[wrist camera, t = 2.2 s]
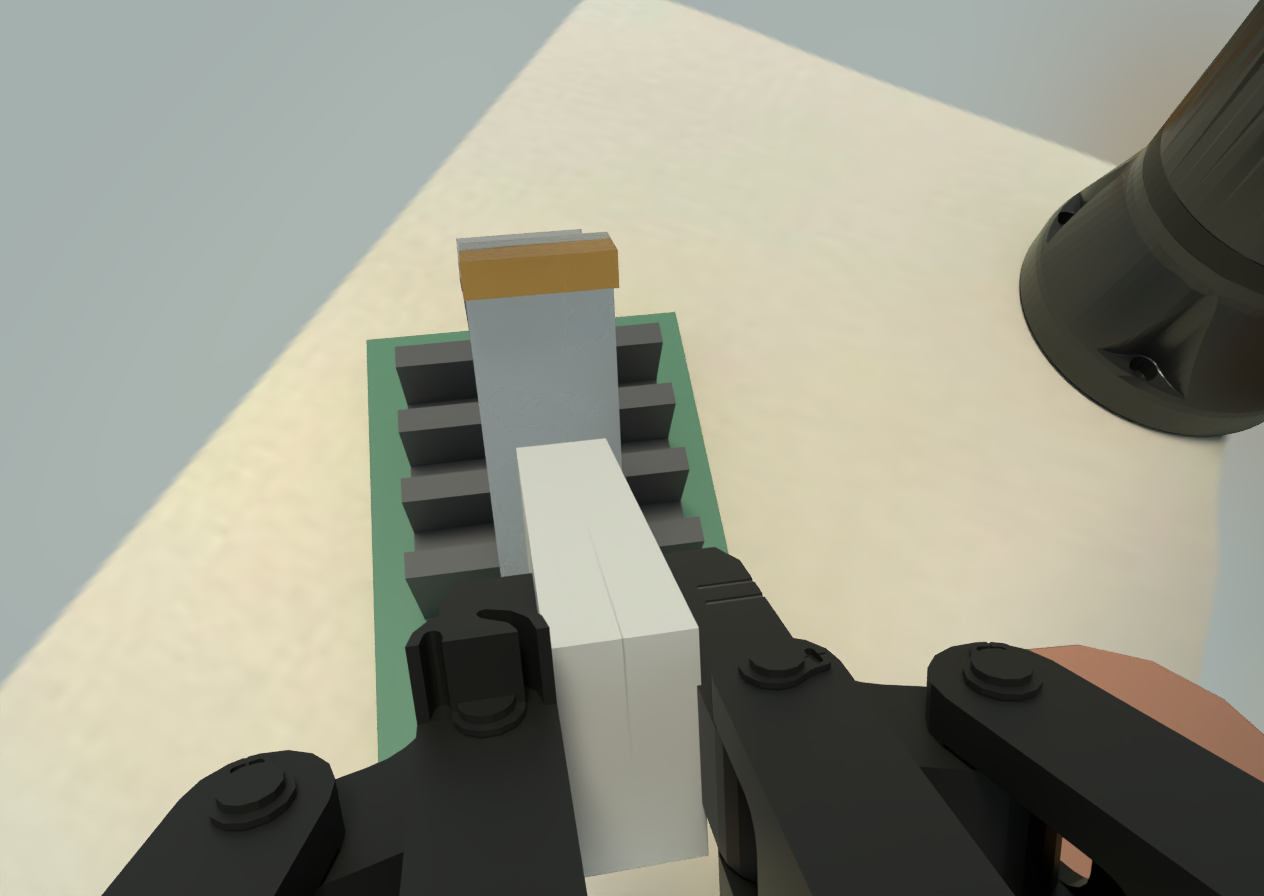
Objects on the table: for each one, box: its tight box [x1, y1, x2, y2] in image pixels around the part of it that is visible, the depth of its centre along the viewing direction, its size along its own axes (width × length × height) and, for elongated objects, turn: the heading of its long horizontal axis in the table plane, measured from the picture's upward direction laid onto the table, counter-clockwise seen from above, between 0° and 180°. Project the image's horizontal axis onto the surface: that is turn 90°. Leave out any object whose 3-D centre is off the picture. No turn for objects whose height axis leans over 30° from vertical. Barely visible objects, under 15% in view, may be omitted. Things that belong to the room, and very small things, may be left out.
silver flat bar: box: [459, 232, 622, 577], centre depth 27 cm, size 4×15×2 cm
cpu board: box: [367, 229, 728, 763], centre depth 36 cm, size 15×20×10 cm
